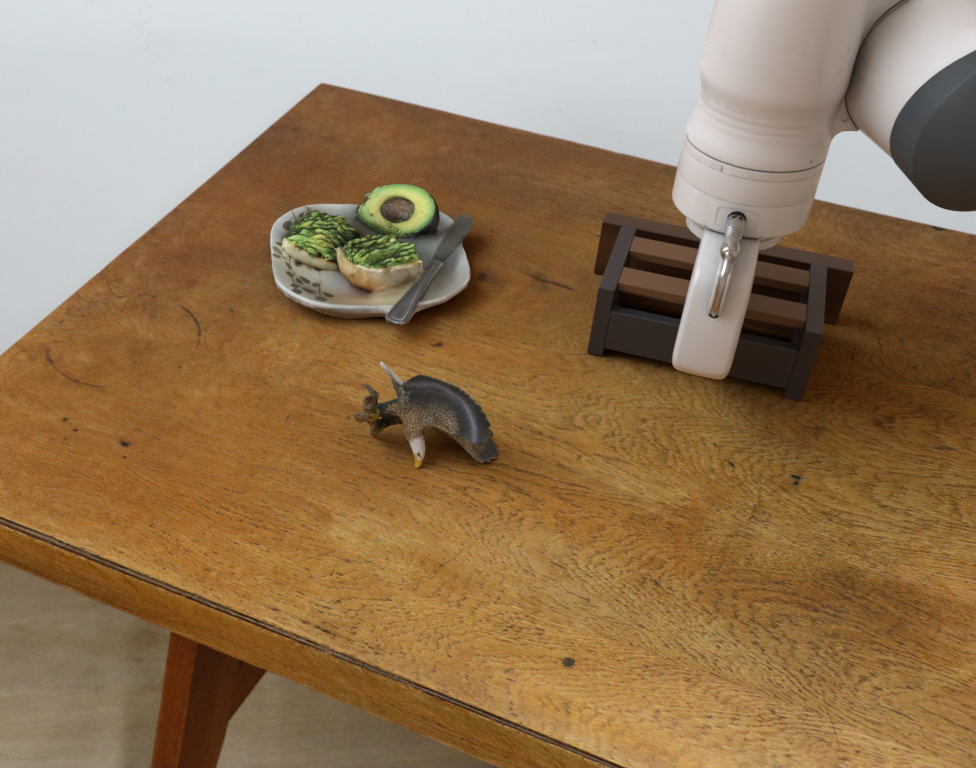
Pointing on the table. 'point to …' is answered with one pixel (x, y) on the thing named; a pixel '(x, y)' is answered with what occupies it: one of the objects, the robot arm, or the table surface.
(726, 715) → the table surface
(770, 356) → the shoe rack
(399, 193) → the salad plate
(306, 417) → the table surface
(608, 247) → the board
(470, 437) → the eagle figurine
